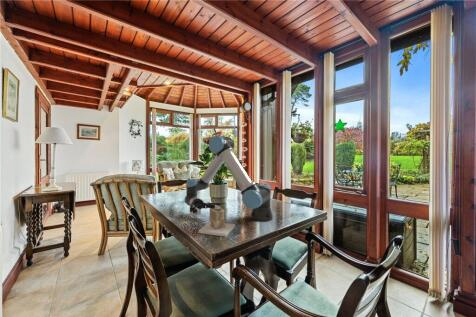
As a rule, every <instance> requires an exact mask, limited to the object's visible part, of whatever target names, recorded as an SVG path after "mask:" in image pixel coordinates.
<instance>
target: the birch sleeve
mask: <svg viewBox="0 0 476 317" xmlns="http://www.w3.org/2000/svg"><path fill="white" fill-rule="evenodd" d="M210 221H211V227H212V228H214V229H215V230H216V229H221V228H225V223H226V210H225V209H224V208H222V207H221V208H216V209H213V208H210Z"/></svg>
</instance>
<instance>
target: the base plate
mask: <svg viewBox="0 0 476 317" xmlns="http://www.w3.org/2000/svg"><path fill="white" fill-rule="evenodd" d="M235 227H236V224H235V223H226V222H225V228H221V229H216V230H215V229H214V228H212V227H211V220H210V221H209V222H208V223H206V224H205V225H204V226H202V227H201V228H200V229H198V234H204V235H209V236H219V237H226V238H227V236H228V235H229V234H230V233H231V232H232V231H233V230H234V229H235Z"/></svg>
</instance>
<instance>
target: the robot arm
mask: <svg viewBox="0 0 476 317" xmlns="http://www.w3.org/2000/svg"><path fill="white" fill-rule="evenodd" d="M208 149H209V150H210V152H211V153H213V154H215V156H214V158H213V159H212V161H211V162H210V164H209V166H208V167H207V168H206V170H205V171H204V172H203V174H202V176H200V178H199V180H197V179H196V178H189V179H187V180H186V184H185V185H186V187H185V188H186V190H185V191H186V193H185V194H186V195H185V197H184V199H183V201H184V203H185V204H186V205H187V206H189V213H192V214H195V213H196V214H197V215H200V216H201V215H202V214H201V213H202V212H201V211H202V209H216V208H221V209H222V207H221V206H220V204H219V203H213V202H208V201H207V202H204V201H203V199H201V198H198V197H197V196H198V192H199V191H203V190H206V189H208V188H209V187H210V182H211V181H212V179H213V178H214V177H215V175H216V174H217V173H218V171H219V169H221V167H222V165H223V164H224V165H225V166H226V168H227V170H228V172H230V174H231V176H232V177H233V179H234V181H235V183H236V184H237V185H238V187H239V188H240V195H241V196H242V199H241V200H242V204H243V205H244V206H245V207H246V208H248V209H251V212H250V219H251V220H254V221H257V222H269V220H270V221H272V220H273V219H274V217H273V212H272V208H271V200H272V199H271V196H272V190H271V188H272V186H270V185H269V184H259V183H258V184H257V182H255V181H254V182H253V181H252V180H251V178H250V176H249V175H248V173H247V172H246V170H245V168H244V167H243V166H242V164H241V162H240V161H239V160H238V158H237V157H236V155H235V154H234V149H235V141H234V139H233V138H231V137H229V136H224V135H214V136H212V137H211V138H210V139H209V141H208Z"/></svg>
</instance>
